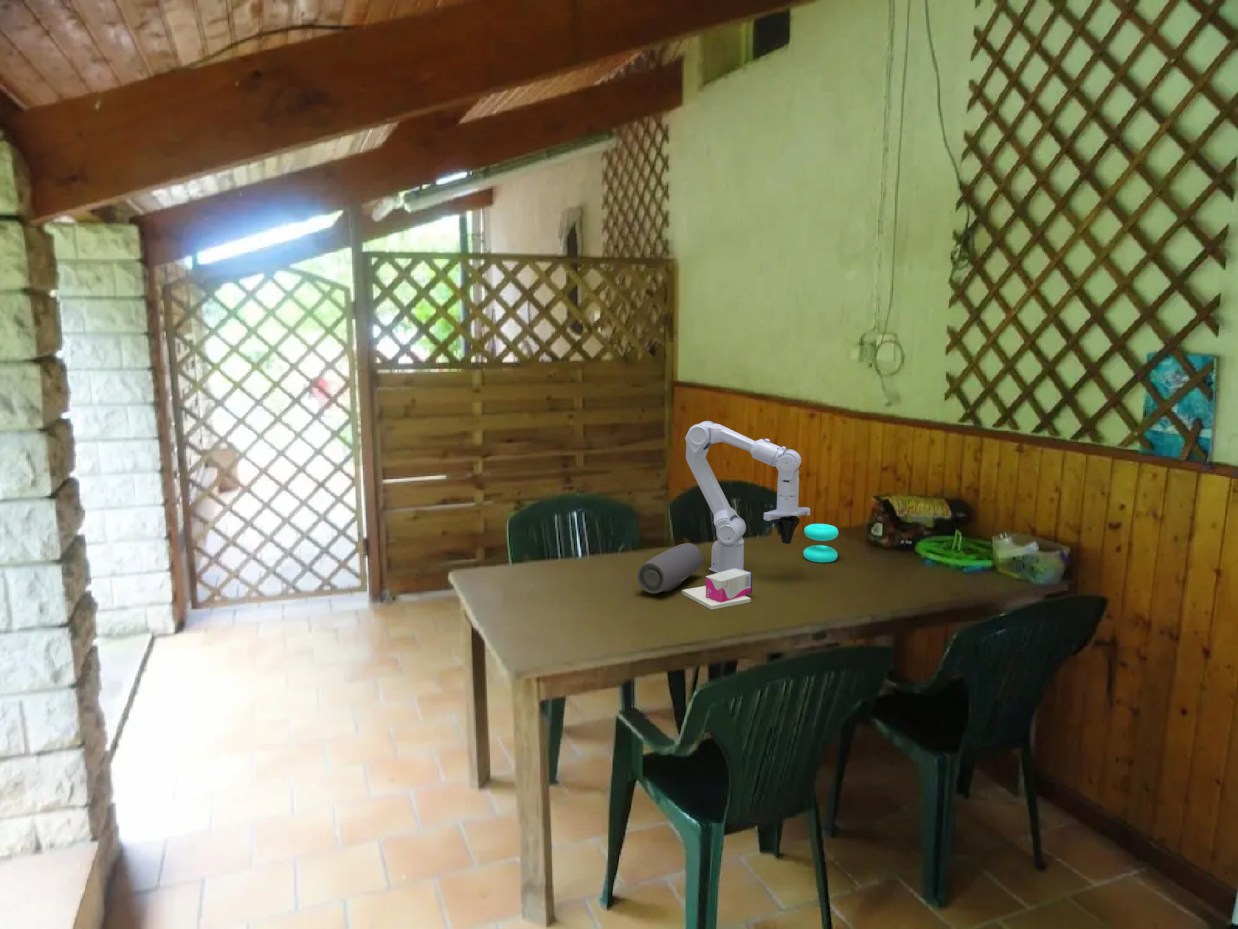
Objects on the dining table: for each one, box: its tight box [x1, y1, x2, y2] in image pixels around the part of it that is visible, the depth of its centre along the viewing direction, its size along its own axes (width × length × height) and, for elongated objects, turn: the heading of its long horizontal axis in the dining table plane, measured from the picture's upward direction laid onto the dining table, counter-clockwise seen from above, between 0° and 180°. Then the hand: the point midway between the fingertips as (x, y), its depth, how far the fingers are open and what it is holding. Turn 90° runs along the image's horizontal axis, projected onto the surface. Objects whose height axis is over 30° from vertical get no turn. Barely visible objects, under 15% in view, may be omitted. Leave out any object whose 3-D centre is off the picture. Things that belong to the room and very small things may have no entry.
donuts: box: [803, 523, 839, 564], centre depth 248 cm, size 10×10×10 cm
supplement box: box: [705, 568, 753, 602], centre depth 212 cm, size 6×6×12 cm
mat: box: [681, 585, 752, 610], centre depth 214 cm, size 14×12×1 cm
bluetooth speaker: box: [637, 542, 704, 594], centre depth 223 cm, size 23×9×10 cm, turn 149°
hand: (786, 543), depth 227 cm, fingers closed
